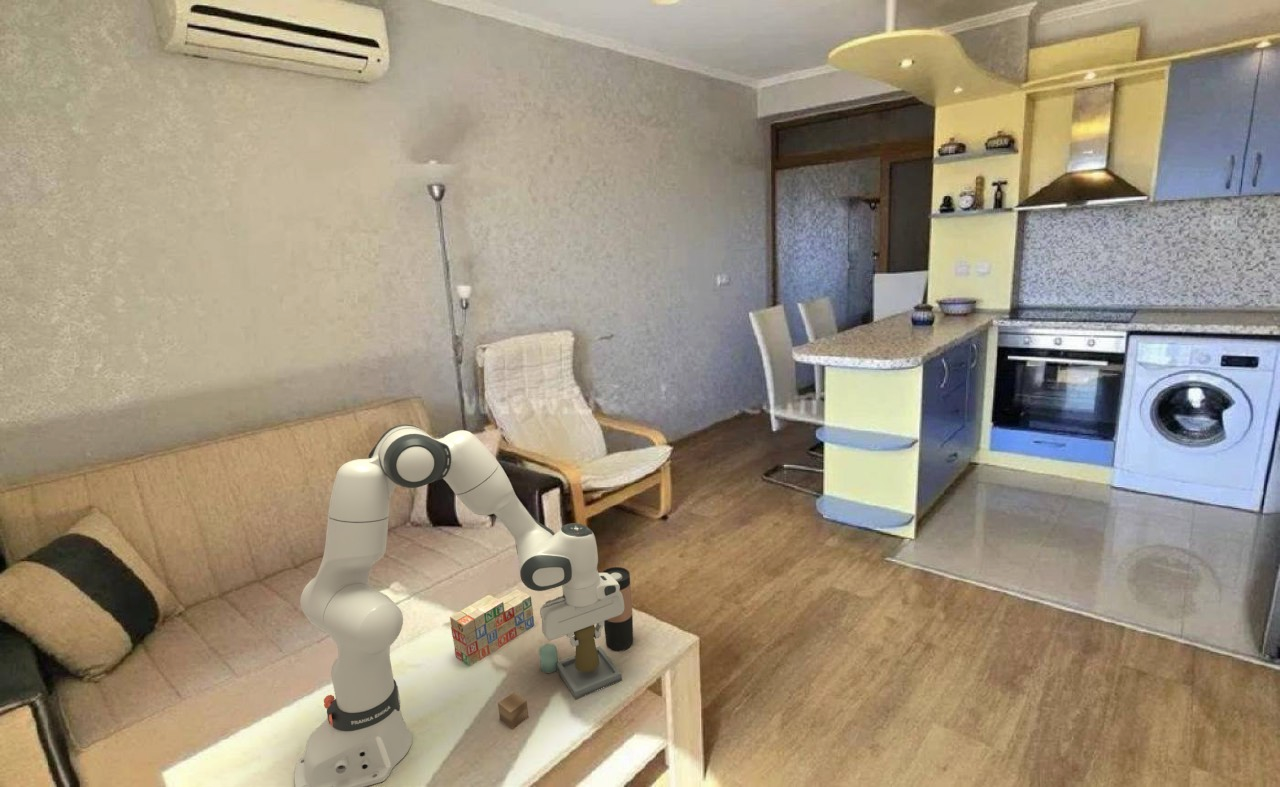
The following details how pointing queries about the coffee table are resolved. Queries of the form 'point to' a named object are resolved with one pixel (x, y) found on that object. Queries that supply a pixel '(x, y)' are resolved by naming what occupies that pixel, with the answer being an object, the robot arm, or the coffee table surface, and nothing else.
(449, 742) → the coffee table surface
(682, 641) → the coffee table surface
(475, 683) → the coffee table surface
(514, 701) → the walnut cube
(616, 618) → the travel mug
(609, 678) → the tray
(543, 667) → the teal cylinder
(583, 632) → the olive brown pawn
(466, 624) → the stack of blocks
